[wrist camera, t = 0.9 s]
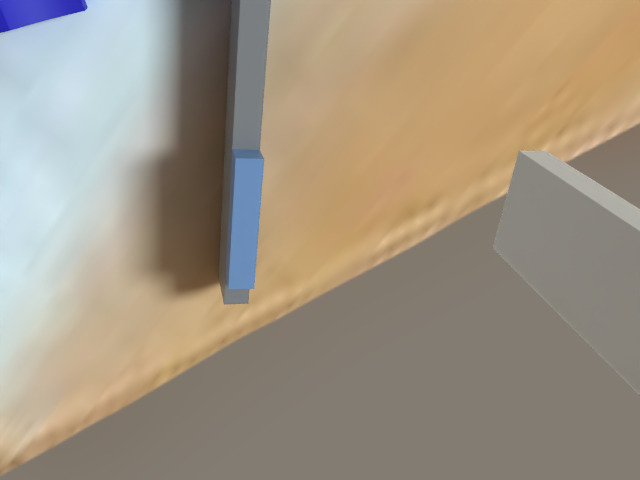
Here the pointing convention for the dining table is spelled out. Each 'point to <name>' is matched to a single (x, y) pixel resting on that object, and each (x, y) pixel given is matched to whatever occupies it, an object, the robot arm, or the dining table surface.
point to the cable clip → (35, 11)
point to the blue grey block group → (243, 149)
